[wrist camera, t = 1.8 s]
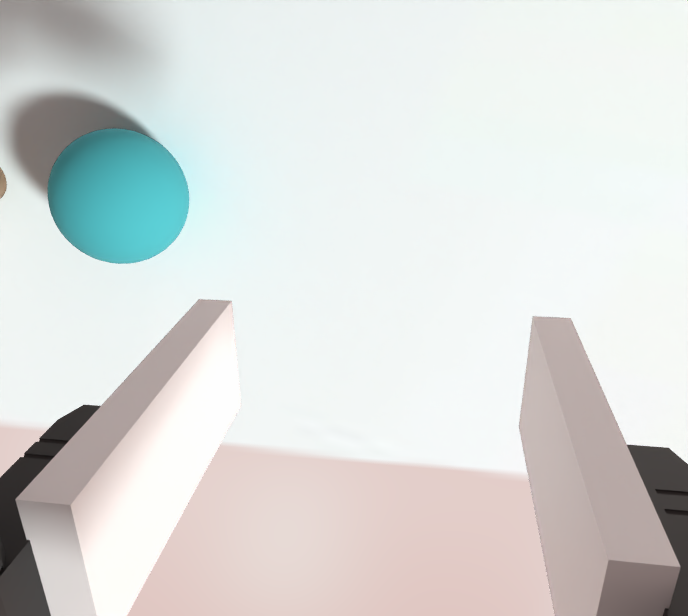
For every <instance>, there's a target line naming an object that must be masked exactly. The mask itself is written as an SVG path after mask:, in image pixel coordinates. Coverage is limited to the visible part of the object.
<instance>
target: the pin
mask: <svg viewBox="0 0 688 616" xmlns="http://www.w3.org/2000/svg"><path fill="white" fill-rule="evenodd" d="M5 191H6V178H5V175H4V173H3V171H2V169H1V168H0V198H2V197H3V195H4V194H5Z"/></svg>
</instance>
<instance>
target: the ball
mask: <svg viewBox="0 0 688 616" xmlns="http://www.w3.org/2000/svg"><path fill="white" fill-rule="evenodd" d="M48 201H49V207H50V211H51V214H52V217H53V219H54V221H55V223H56V225H57V227H58V229H59V230H60V232H61V233H62V234H63V235H64V237H65V238H66V239H67V240H68V241H69V242H70V243H71V244H72V245H73V246H75V247H76V248H77V249H79V250H80V251H82V252H83V253H85V254H87V255H89V256H91V257H93V258H95V259H98V260H101V261H106V262H110V263H118V264H122V263H135V262H140V261H143V260H146V259H149V258H152V257H154V256H156V255H157V254H159V253H161V252H162V251H164V250H165V249H166V248H167V247H168V246H169V245H170V244H171V243H172V242H173V241H174V240H175V239H176V238H177V236H178V235H179V233H180V232H181V230H182V228H183V226H184V224H185V221H186V218H187V214H188V209H189V191H188V185H187V182H186V179H185V176H184V174H183V171H182V169H181V168H180V166H179V164H178V162H177V161H176V160H175V158H174V157H173V156H172V155H171V154H170V152H169V151H168V150H167V149H166V148H164V147H163V146H162V145H161V144H160V143H158V142H157V141H155V140H154V139H152V138H150V137H148V136H146V135H144V134H141V133H138V132H136V131H131V130H126V129H116V128H112V129H102V130H97V131H93V132H91V133H88V134H86V135H83V136H81V137H80V138H78V139H76V140H75V141H73V142H72V143H71V144H70V145H69V146H67V147H66V148H65V149H64V150H63V152H62V153H61V154H60V155H59V157H58V158H57V160H56V162H55V163H54V165H53V168H52V170H51V174H50V177H49V181H48Z"/></svg>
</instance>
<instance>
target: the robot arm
mask: <svg viewBox="0 0 688 616" xmlns="http://www.w3.org/2000/svg"><path fill="white" fill-rule="evenodd" d="M240 407H241V399H240V388H239V376H238V365H237V354H236V343H235V332H234V321H233V310H232V301H223V300H203V299H199V300H198V301H197V302H196V303H195V304H194V305H193V306H192V307H191V309H190V310H189V311H188V312H187V313H186V314H185V315H184V316H183V317H182V318H181V319H180V321H179V322H178V323H177V324H176V325H175V326H174V327H173V328H172V329H171V330H170V331H169V333H168V334H167V335H166V336H165V337H164V338H163V339H162V340H161V341H160V342H159V343H158V345H157V346H156V347H155V348H154V349H153V350H152V351H151V352H150V353H149V354H148V355H147V356H146V358H145V359H144V360H143V361H142V362H141V363H140V364H139V365H138V366H137V367H136V368H135V370H134V371H133V372H132V373H131V374H130V375H129V376H128V377H127V378H126V379H125V380H124V382H123V383H122V384H121V385H120V386H119V387H118V388H117V389H116V390H115V391H114V392H113V394H112V395H111V396H110V397H109V398H108V399H107V400H106V401H105V402H104V403H103V404H102V406H93V405H83V406H81V407H79V408H78V409H76V410H74V411H72V412H71V413H69V414H67V415H65V416H64V417H62V418H60V419H58V420H57V421H56V422H55V423H54V424H53V425H52V426H51V427H50V428H49V429H48V430H47V431H46V432H45V433H44V434H43V435H42V436H41V437H40V441H39V442H35V443H34V444H33V445H32V446H31V447H30V448H29V449H28V450H27V451H26V452H25V455H24V457H20V458H19V459H18V460H17V461H16V462H15V463H14V464H13V465H12V466H11V467H10V468H9V469H8V470H7V471H6V472H5V473H4V474H3V475H2V476H1V478H0V616H127V614H128V613H129V611H130V609H131V607H132V605H133V603H134V601H135V600H136V598H137V596H138V594H139V592H140V590H141V589H142V587H143V585H144V583H145V581H146V580H147V578H148V576H149V574H150V572H151V570H152V568H153V567H154V565H155V563H156V561H157V559H158V557H159V556H160V554H161V552H162V550H163V548H164V546H165V544H166V542H167V541H168V539H169V537H170V535H171V534H172V531H173V530H174V528H175V526H176V524H177V522H178V521H179V519H180V517H181V515H182V513H183V511H184V509H185V508H186V506H187V504H188V502H189V500H190V499H191V497H192V495H193V493H194V491H195V489H196V488H197V486H198V484H199V482H200V480H201V478H202V476H203V475H204V473H205V471H206V469H207V467H208V466H209V464H210V462H211V460H212V458H213V456H214V454H215V453H216V451H217V449H218V447H219V445H220V443H221V442H222V440H223V438H224V436H225V434H226V432H227V431H228V429H229V427H230V425H231V423H232V421H233V420H234V418H235V416H236V414H237V412H238V410H239V409H240ZM519 429H520V435H521V440H522V445H523V451H524V456H525V461H526V466H527V472H528V477H529V482H530V487H531V492H532V498H533V503H534V509H535V514H536V519H537V524H538V530H539V535H540V540H541V545H542V551H543V556H544V561H545V566H546V572H547V577H548V582H549V588H550V592H551V598H552V603H553V609H554V614H555V616H688V464H687V463H686V462H684V461H683V460H682V459H681V458H680V457H678V456H677V455H676V454H675V453H674V452H673V451H671V450H670V449H669V448H663V447H650V446H637V445H627V444H626V442H625V440H624V438H623V435H622V433H621V431H620V429H619V426H618V424H617V422H616V420H615V417H614V415H613V413H612V411H611V408H610V406H609V404H608V402H607V399H606V397H605V395H604V392H603V390H602V388H601V386H600V383H599V381H598V379H597V377H596V374H595V372H594V370H593V368H592V365H591V363H590V361H589V359H588V356H587V354H586V352H585V350H584V347H583V345H582V343H581V340H580V338H579V336H578V334H577V331H576V329H575V327H574V325H573V322H572V320H571V318H556V317H536V316H533V318H532V326H531V334H530V342H529V350H528V358H527V366H526V374H525V382H524V390H523V398H522V406H521V414H520V422H519Z"/></svg>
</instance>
